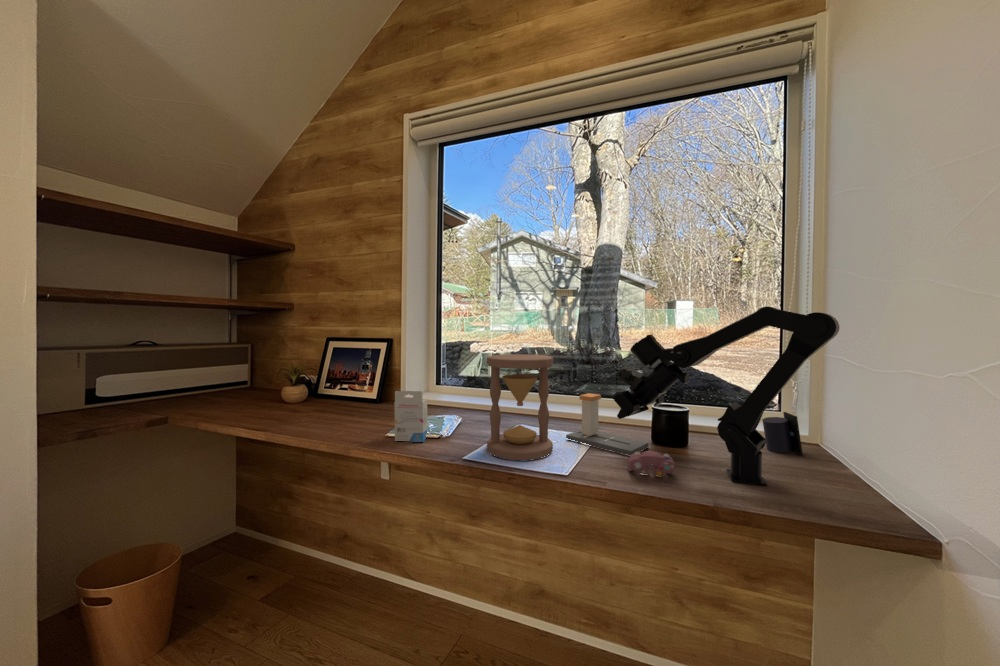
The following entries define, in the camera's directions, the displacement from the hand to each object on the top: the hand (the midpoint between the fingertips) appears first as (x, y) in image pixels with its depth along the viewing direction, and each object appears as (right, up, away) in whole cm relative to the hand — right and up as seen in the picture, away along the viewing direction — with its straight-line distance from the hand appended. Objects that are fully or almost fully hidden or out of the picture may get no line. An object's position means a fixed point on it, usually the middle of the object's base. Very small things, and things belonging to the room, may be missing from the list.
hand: (618, 417), depth 105 cm
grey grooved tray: (-3, -8, +3) cm, 9 cm away
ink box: (-58, -8, +6) cm, 59 cm away
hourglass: (-27, -8, -2) cm, 29 cm away
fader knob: (-6, -6, +7) cm, 11 cm away
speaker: (+42, -8, -4) cm, 43 cm away
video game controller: (+1, -9, -19) cm, 21 cm away
